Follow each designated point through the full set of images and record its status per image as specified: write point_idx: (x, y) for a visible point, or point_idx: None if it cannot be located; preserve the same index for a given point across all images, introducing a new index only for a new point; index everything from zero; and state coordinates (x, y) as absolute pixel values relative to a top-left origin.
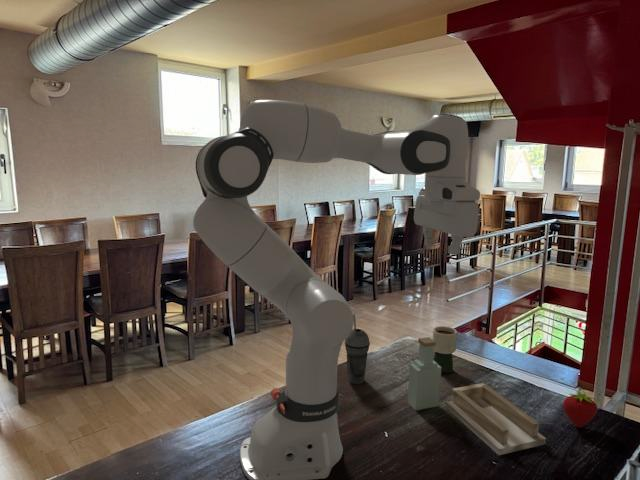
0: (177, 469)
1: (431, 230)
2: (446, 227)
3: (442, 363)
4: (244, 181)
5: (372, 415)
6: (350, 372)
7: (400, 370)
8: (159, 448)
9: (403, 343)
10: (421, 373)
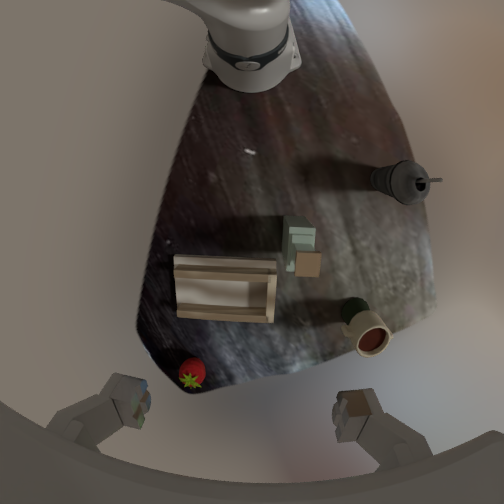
0: None
1: (376, 470)
2: (65, 470)
3: (350, 310)
4: None
5: (292, 154)
6: (382, 167)
7: (378, 255)
8: None
9: (431, 300)
10: (288, 233)
